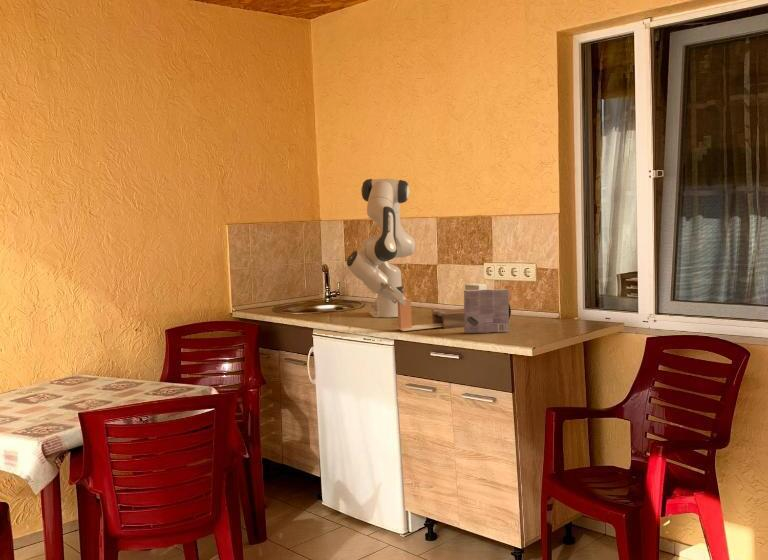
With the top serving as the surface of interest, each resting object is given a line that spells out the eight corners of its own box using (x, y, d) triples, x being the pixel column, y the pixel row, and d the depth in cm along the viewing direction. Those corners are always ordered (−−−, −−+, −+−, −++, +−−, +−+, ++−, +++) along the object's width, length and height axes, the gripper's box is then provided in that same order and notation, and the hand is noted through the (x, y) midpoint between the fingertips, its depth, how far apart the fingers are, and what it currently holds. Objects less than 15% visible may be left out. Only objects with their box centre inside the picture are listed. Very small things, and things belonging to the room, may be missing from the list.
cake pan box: (511, 330, 337) (509, 287, 335) (512, 332, 332) (511, 289, 330) (464, 332, 338) (462, 289, 336) (465, 334, 333) (463, 291, 331)
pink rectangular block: (396, 328, 352) (395, 299, 350) (441, 324, 359) (440, 295, 358) (403, 331, 345) (401, 301, 343) (448, 326, 352) (447, 297, 351)
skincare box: (464, 318, 378) (463, 284, 376) (473, 316, 383) (472, 282, 381) (479, 319, 372) (478, 285, 371) (488, 317, 377) (487, 283, 375)
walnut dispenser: (432, 325, 360) (431, 309, 359) (469, 321, 366) (468, 306, 366) (444, 328, 348) (443, 313, 348) (482, 324, 355) (481, 309, 354)
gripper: (391, 278, 334) (414, 300, 338) (374, 274, 353) (396, 295, 357) (381, 290, 333) (405, 311, 337) (365, 286, 352) (387, 306, 356)
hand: (400, 303), depth 347 cm, fingers open, 8 cm apart
